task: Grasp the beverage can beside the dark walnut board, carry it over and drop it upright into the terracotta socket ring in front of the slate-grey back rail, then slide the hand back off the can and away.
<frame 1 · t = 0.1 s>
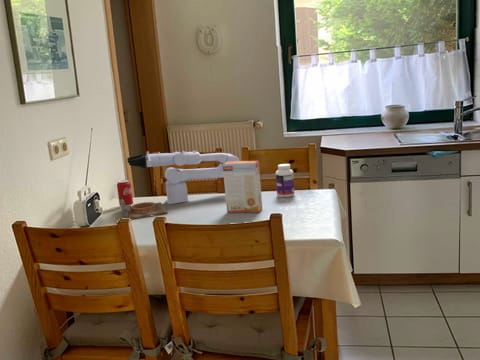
hand: (128, 161, 227), 22 cm above the table, tool horizontal, fingers open, 7 cm apart
beverage can: (126, 206, 236), on the table
cracker box: (244, 211, 211), on the table
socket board: (143, 212, 223), on the table
pill bottle: (285, 196, 230), on the table
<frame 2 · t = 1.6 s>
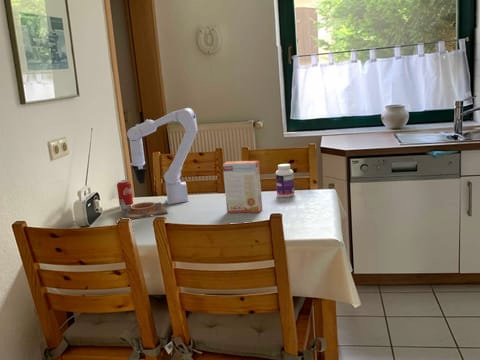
hand: (140, 181, 236), 10 cm above the table, tool pointing down, fingers open, 7 cm apart
nothing on the table moved.
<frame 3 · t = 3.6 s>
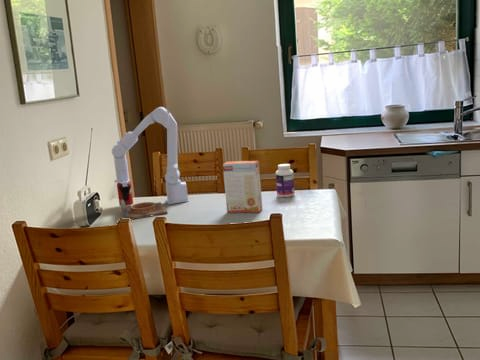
hand: (125, 198, 235), 3 cm above the table, tool pointing down, fingers closed on beverage can, 6 cm apart
beverage can: (126, 206, 236), on the table, touching gripper
everything else where it was.
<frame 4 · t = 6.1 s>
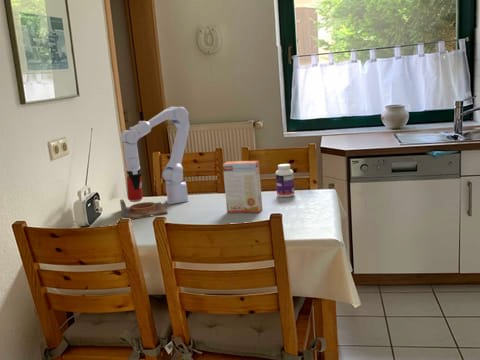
hand: (135, 187, 224), 10 cm above the table, tool pointing down, fingers closed on beverage can, 6 cm apart
beverage can: (135, 201, 225), point 4 cm above the table, touching gripper
everything else where it was.
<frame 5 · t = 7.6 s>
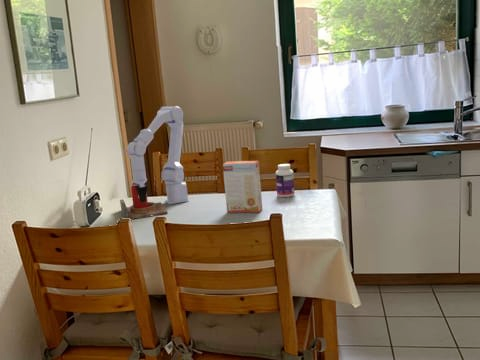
hand: (142, 200, 221), 5 cm above the table, tool pointing down, fingers closed on beverage can, 6 cm apart
beverage can: (141, 210, 222), point 1 cm above the table, touching gripper, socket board
everything else where it was.
when the fingers open (5 cm above the table, at t = 8.2 s): beverage can stays where it is, resting on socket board.
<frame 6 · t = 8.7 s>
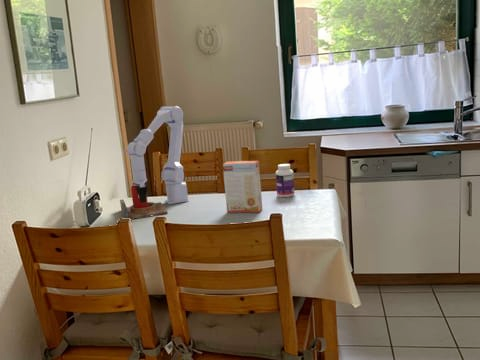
hand: (142, 200, 221), 5 cm above the table, tool pointing down, fingers open, 7 cm apart
beverage can: (141, 210, 222), point 1 cm above the table, touching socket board
everything else where it was.
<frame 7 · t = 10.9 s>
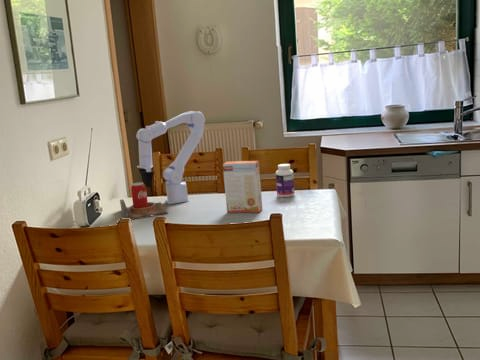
hand: (147, 185, 228), 10 cm above the table, tool pointing down, fingers open, 7 cm apart
nothing on the table moved.
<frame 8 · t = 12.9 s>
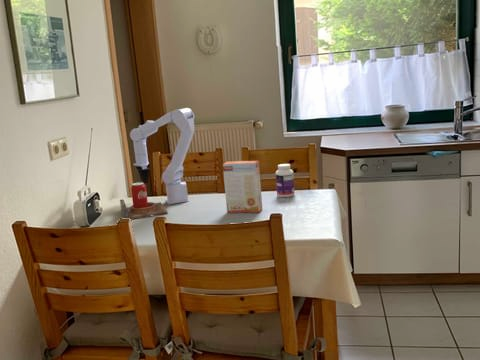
hand: (144, 181, 240), 9 cm above the table, tool pointing down, fingers open, 7 cm apart
nothing on the table moved.
at the end: beverage can 1.0 cm off-centre on the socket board, point 0.8 cm above the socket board's base; beverage can tilted 0°; the gripper is holding nothing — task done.
